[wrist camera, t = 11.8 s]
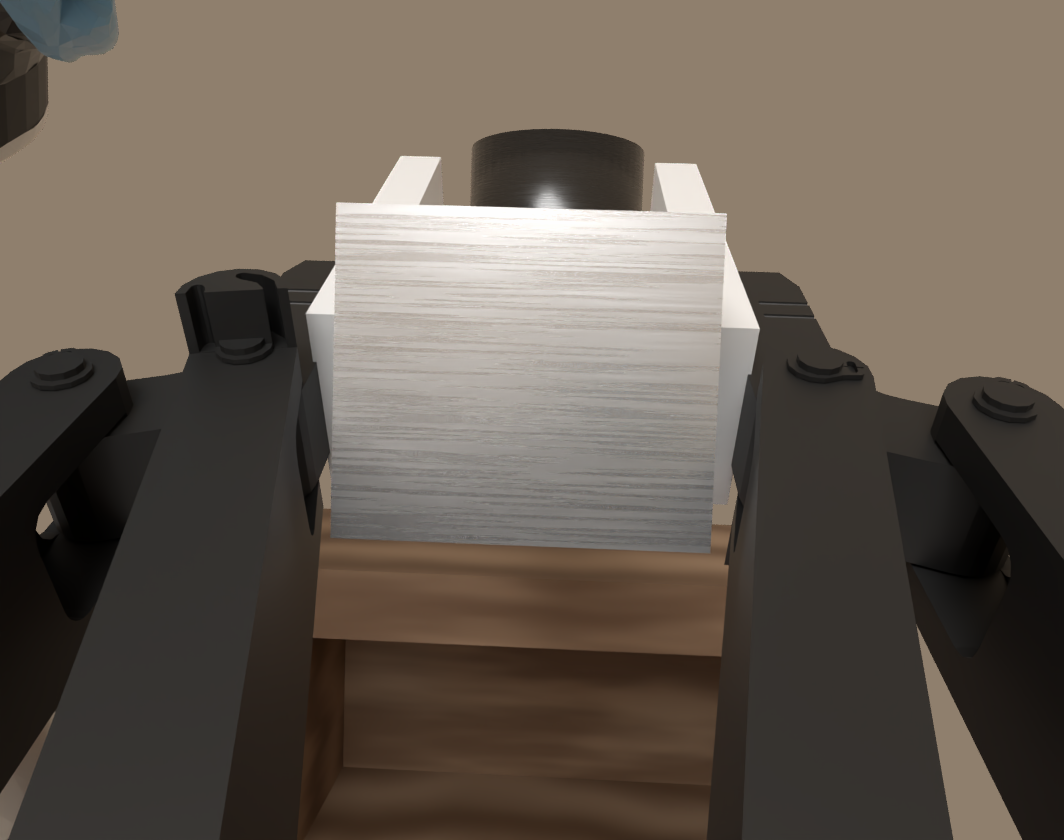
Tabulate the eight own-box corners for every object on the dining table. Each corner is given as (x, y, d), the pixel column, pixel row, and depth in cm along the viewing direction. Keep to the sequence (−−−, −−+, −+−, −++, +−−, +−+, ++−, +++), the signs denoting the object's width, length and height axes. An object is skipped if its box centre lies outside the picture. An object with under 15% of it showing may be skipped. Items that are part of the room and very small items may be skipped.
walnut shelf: (834, 1259, 37) (878, 593, 35) (210, 1216, 38) (216, 564, 36) (759, 1013, 51) (787, 527, 49) (305, 986, 52) (313, 508, 50)
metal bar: (855, 558, 9) (922, -527, 8) (190, 532, 9) (196, -528, 8) (625, 407, 39) (634, 177, 38) (474, 402, 39) (481, 173, 38)
